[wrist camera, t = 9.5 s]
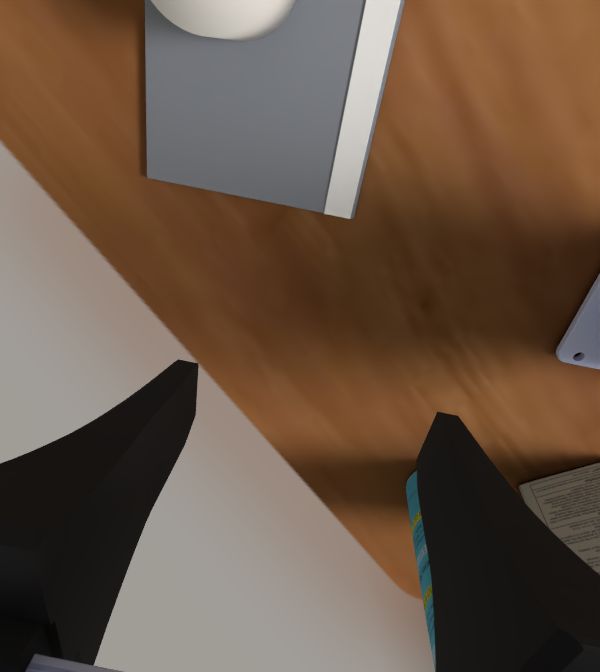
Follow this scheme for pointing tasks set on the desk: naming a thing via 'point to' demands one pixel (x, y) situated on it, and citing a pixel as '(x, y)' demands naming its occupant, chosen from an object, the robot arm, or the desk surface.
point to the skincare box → (570, 509)
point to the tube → (421, 556)
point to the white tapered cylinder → (227, 17)
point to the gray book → (271, 104)
